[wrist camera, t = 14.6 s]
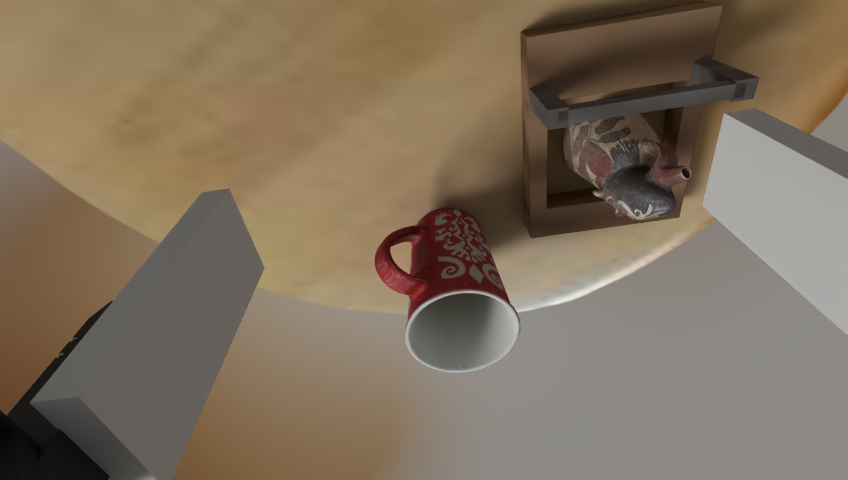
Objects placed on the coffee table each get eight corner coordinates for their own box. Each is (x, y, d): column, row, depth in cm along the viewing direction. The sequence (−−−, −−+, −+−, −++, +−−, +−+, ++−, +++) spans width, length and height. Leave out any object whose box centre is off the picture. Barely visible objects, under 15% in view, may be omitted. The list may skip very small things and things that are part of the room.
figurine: (543, 152, 40) (588, 221, 30) (597, 83, 37) (667, 135, 27) (601, 187, 42) (660, 262, 33) (657, 124, 39) (742, 187, 29)
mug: (510, 233, 45) (545, 329, 34) (450, 286, 49) (463, 388, 38) (417, 159, 40) (421, 242, 29) (357, 223, 44) (341, 319, 33)
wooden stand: (520, 31, 34) (547, 52, 28) (703, 1, 34) (776, 15, 27) (524, 224, 44) (545, 273, 38) (666, 204, 44) (712, 251, 37)
